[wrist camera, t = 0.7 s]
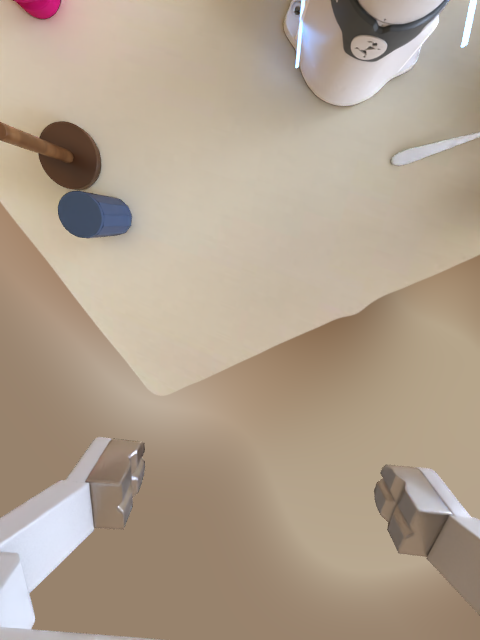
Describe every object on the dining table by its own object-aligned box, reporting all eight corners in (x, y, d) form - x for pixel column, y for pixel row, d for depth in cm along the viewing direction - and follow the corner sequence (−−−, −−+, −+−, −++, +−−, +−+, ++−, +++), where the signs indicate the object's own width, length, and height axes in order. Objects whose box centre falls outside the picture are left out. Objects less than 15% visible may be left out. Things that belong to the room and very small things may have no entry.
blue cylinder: (97, 193, 44) (57, 185, 34) (133, 202, 44) (103, 197, 35) (96, 230, 46) (57, 232, 36) (129, 238, 46) (100, 242, 37)
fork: (389, 150, 41) (396, 147, 39) (562, 97, 38) (576, 91, 37) (391, 172, 42) (397, 170, 40) (559, 122, 39) (573, 118, 38)
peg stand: (42, 116, 40) (-51, 68, 28) (102, 133, 41) (39, 92, 28) (43, 181, 43) (-40, 165, 31) (99, 196, 44) (40, 185, 31)
